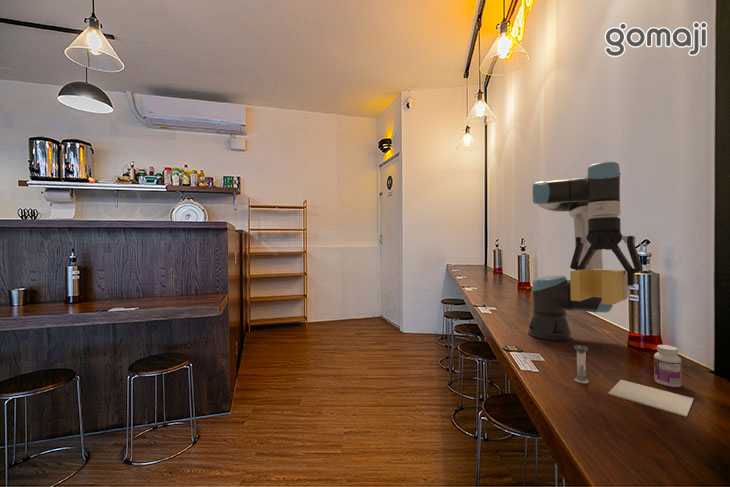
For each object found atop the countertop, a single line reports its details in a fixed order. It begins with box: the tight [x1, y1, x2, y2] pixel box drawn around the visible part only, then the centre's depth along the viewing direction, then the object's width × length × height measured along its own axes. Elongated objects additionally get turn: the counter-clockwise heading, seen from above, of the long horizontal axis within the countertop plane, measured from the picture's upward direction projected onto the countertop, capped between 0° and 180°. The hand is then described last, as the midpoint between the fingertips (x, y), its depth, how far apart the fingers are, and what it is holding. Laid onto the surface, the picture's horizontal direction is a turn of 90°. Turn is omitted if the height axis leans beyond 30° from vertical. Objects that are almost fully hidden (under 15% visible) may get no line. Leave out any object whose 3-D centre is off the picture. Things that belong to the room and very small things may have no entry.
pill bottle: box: [653, 344, 682, 388], centre depth 87 cm, size 5×5×10 cm
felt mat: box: [607, 379, 694, 418], centre depth 80 cm, size 11×14×1 cm
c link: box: [569, 268, 627, 306], centre depth 91 cm, size 13×9×8 cm
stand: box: [574, 344, 589, 385], centre depth 89 cm, size 3×3×10 cm
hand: (604, 295), depth 94 cm, fingers closed on c link, 9 cm apart
